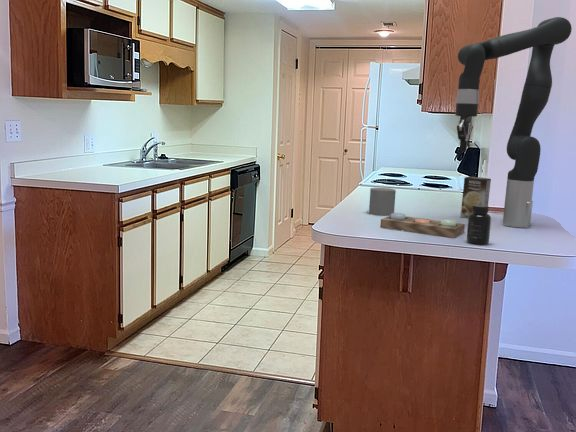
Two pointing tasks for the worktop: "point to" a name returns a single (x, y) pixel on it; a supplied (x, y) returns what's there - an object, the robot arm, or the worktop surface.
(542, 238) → the worktop surface
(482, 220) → the supplement bottle
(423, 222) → the terracotta button
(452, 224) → the sage button
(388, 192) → the coffee mug
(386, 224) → the button panel
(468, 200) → the coffee box
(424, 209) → the worktop surface
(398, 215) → the slate button
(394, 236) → the worktop surface
